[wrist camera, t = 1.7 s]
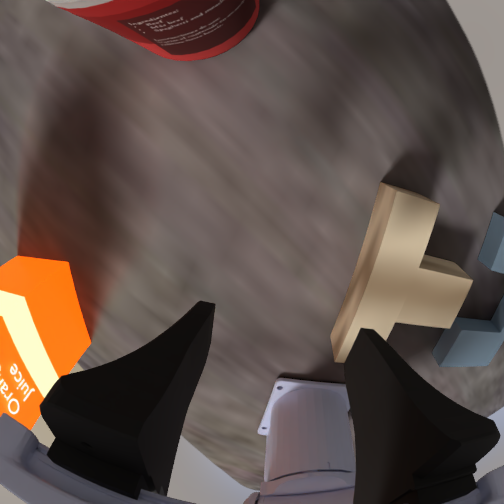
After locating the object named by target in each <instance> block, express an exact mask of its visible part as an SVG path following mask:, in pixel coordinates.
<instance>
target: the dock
mask: <svg viewBox="0 0 504 504" xmlns="http://www.w3.org/2000/svg"><path fill="white" fill-rule="evenodd" d="M478 260H479V261H480V262H482V263H483V264H484V265H485V266H486V267H488V268H489V269H490V270H492V271H496V272H499V273H503V274H504V217H503V216H501V215H499V214H497V213H495V212H493V215H492V219H491V222H490V225H489V228H488V231H487V234H486V237H485V240H484V243H483V246H482V249H481V251H480V254H479V257H478ZM503 341H504V295H503V297H502V299H501V301H500V303H499V305H498V307H497V309H496V311H495V313H494V315H493V317H492V319H491V321H488V320H479V319H470V318H461V317H456V318H455V320H454V322H453V324H452V325H451V327H450V329H447V328H445V330H444V332H443V334H442V335H441V337H440V339H439V341H438V342H437V344H436V346H435V347H434V349H433V351H432V354H433V356H434V358H435V359H436V361H437V363H438V365H439V367H466V366H488V364H489V363H490V361H491V360H492V358H493V357H494V355H495V354H496V352H497V351H498V349H499V347H500V346H501V344H502V343H503Z"/></svg>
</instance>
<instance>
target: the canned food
mask: <svg viewBox="0 0 504 504" xmlns="http://www.w3.org/2000/svg"><path fill="white" fill-rule="evenodd" d="M46 1H47V2H49V3H51V4H53V5H54V6H56V7H59V8H61V9H64V10H66V11H69V12H71V13H72V14H75V15H77V16H79V17H82V18H84V19H86V20H89V21H91V22H93V23H96V24H98V25H100V26H102V27H104V28H106V29H109V30H111V31H113V32H115V33H117V34H119V35H121V36H123V37H125V38H127V39H129V40H131V41H133V42H135V43H137V44H138V45H140V46H142V47H144V48H146V49H148V50H150V51H151V52H153V53H155V54H157V55H160V56H162V57H164V58H168V59H173V60H180V61H192V60H200V59H206V58H210V57H214V56H217V55H219V54H221V53H224V52H226V51H228V50H229V49H231V48H232V47H234V46H236V45H237V44H238V43H239V42H240V41H241V40H242V39H243V38H245V36H246V35H247V34H248V33H249V31H250V30H251V29H252V27H253V26H254V23H255V21H256V19H257V17H258V12H259V0H46Z"/></svg>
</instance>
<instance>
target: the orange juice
mask: <svg viewBox="0 0 504 504" xmlns="http://www.w3.org/2000/svg"><path fill="white" fill-rule="evenodd" d="M90 344H91V341H90V338H89V335H88V332H87V329H86V326H85V323H84V319H83V316H82V313H81V309H80V306H79V303H78V299H77V295H76V292H75V288H74V284H73V280H72V276H71V271H70V267H69V262H64V261H56V260H47V259H39V258H31V257H23V256H16V257H15V258H13V259H12V260H10V261H9V262H7V263H6V264H4V265H3V266H1V267H0V416H1V415H2V414H3V413H6V414H8V415H9V416H11V417H12V418H14V419H15V420H17V421H18V422H19V423H21V424H23V425H24V426H25V427H27V428H28V429H29V430H31V429H32V427H33V426H34V424H35V422H36V421H37V419H38V418H39V416H40V414H41V413H40V407H39V405H40V404H41V402H42V401H43V399H44V398H45V396H46V395H47V393H48V392H49V391H50V389H51V388H52V386H53V385H54V384H55V382H56V381H57V380H58V379H59V378H60V377H61V375H67V374H69V372H70V371H71V369H72V368H73V367H74V365H75V364H76V363H77V361H78V360H79V358H80V357H81V356H82V354H83V353H84V352H85V350H86V349H87V348H88V346H89V345H90Z"/></svg>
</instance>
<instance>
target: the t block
mask: <svg viewBox="0 0 504 504" xmlns="http://www.w3.org/2000/svg"><path fill="white" fill-rule="evenodd" d="M439 207H440V204H438V203H436V202H434V201H432V200H430V199H428V198H426V197H424V196H423V195H421V194H418V193H415V192H412V191H409V190H406V189H403V188H399V187H396V186H393V185H389V184H386V183H382V182H380V185H379V189H378V193H377V197H376V201H375V205H374V208H373V212H372V215H371V219H370V222H369V226H368V229H367V233H366V236H365V239H364V243H363V246H362V249H361V252H360V255H359V259H358V262H357V265H356V268H355V271H354V274H353V277H352V279H351V282H350V285H349V288H348V291H347V294H346V296H345V299H344V302H343V305H342V307H341V310H340V313H339V315H338V318H337V320H336V323H335V325H334V328H333V331H332V333H331V336H330V338H331V343H332V349H333V355H334V361H335V362H339V363H344V362H345V360H346V358H347V356H348V354H349V352H350V350H351V348H352V346H353V344H354V341H355V339H356V337H357V335H358V333H359V330H360V328H368V329H374V330H375V331H376V332H377V333H378V334H379V335H380V336H381V337H382V338H383V339H384V340H385V341H386V340H387V338H388V336H389V334H390V332H391V330H392V328H393V326H394V324H395V322H398V323H406V324H413V325H422V326H430V327H438V328H447V329H450V327H451V325H452V324H453V322H454V320H455V318H456V316H457V314H458V312H459V310H460V308H461V306H462V304H463V302H464V300H465V298H466V296H467V294H468V291H469V289H470V287H471V285H472V282H473V279H472V278H471V277H469V276H468V275H467V274H466V273H465V272H464V271H463V270H462V269H461V268H460V267H459V266H458V265H457V264H456V263H455V262H452V261H448V260H444V259H440V258H436V257H432V256H428V255H424V253H425V250H426V247H427V244H428V241H429V238H430V235H431V232H432V229H433V226H434V223H435V220H436V217H437V213H438V210H439Z"/></svg>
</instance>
